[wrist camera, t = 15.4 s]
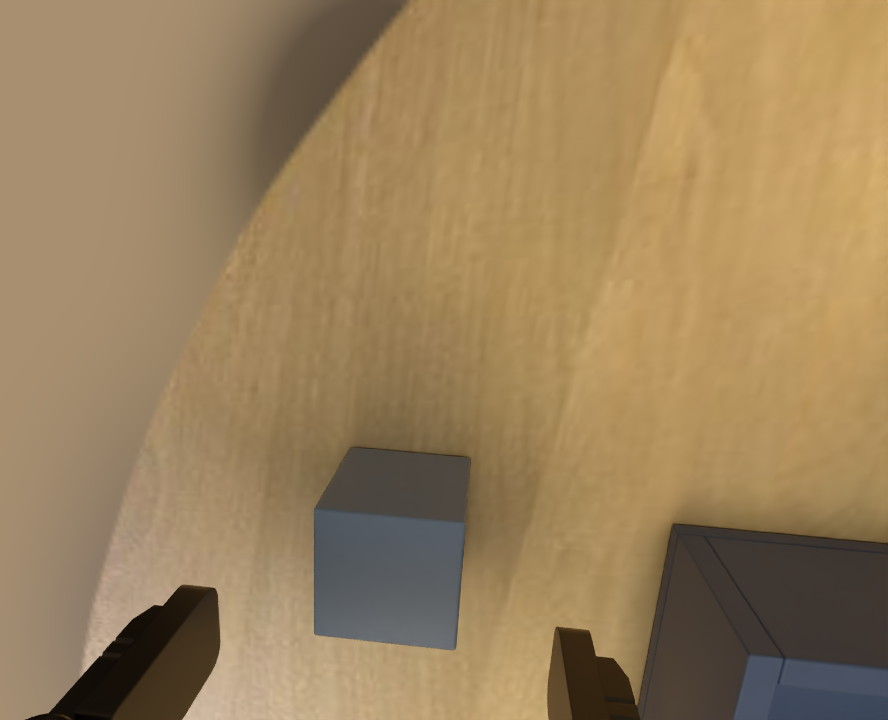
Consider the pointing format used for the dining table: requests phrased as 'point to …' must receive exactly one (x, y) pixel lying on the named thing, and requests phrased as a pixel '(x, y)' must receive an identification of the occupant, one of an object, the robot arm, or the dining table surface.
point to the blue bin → (768, 629)
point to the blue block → (391, 548)
